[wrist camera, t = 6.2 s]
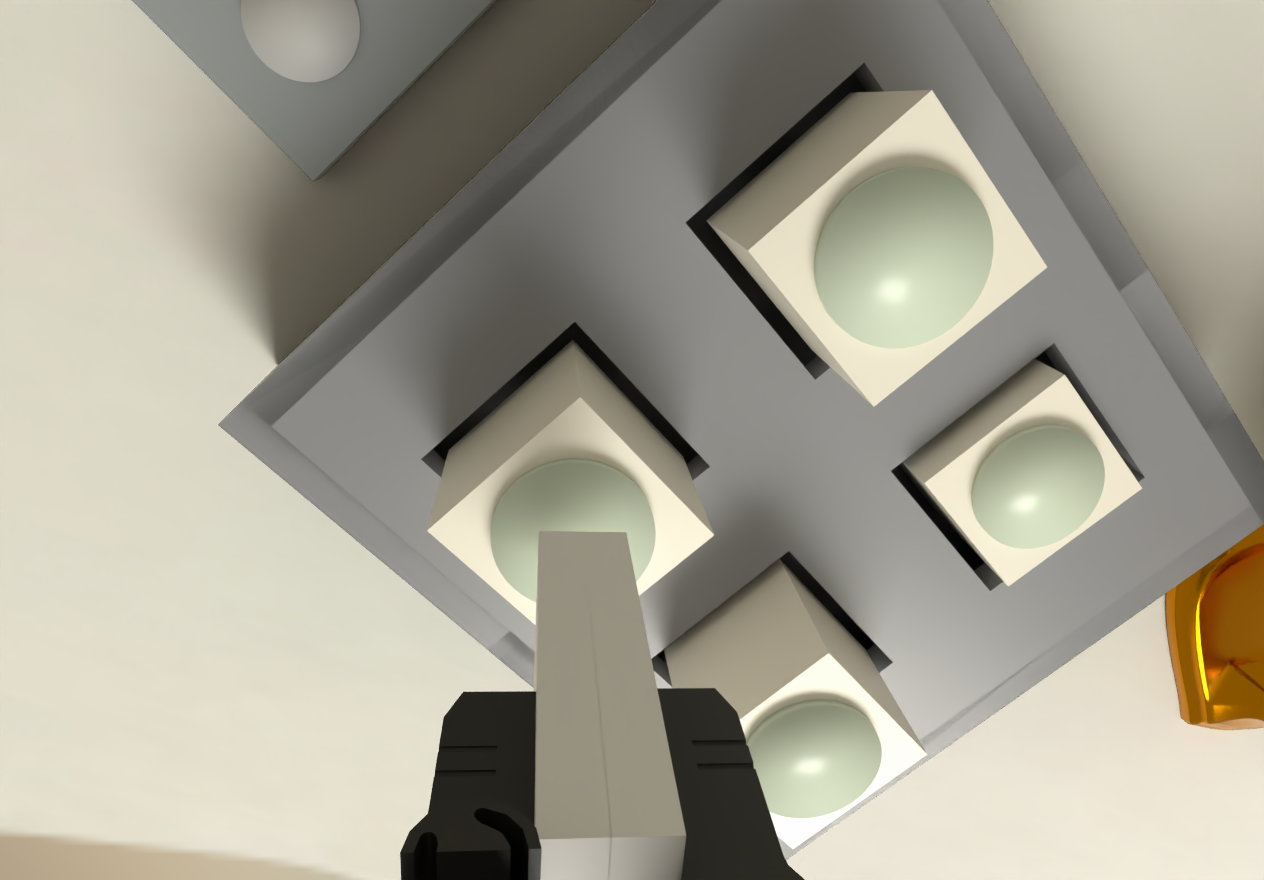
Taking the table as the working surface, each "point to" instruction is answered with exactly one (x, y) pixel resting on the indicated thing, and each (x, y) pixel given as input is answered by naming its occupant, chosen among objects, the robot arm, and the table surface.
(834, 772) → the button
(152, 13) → the card
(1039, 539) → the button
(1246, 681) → the figurine
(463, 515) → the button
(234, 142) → the table surface
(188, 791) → the table surface
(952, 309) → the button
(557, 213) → the button box
